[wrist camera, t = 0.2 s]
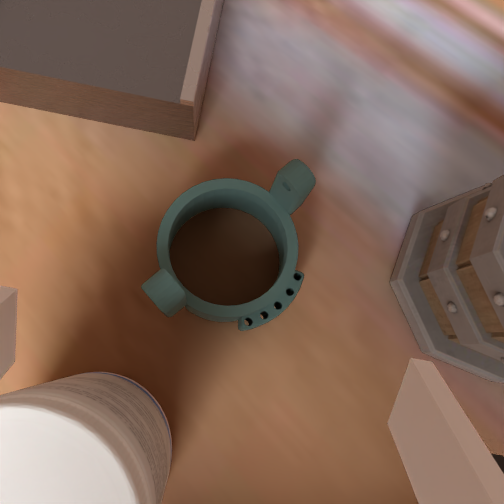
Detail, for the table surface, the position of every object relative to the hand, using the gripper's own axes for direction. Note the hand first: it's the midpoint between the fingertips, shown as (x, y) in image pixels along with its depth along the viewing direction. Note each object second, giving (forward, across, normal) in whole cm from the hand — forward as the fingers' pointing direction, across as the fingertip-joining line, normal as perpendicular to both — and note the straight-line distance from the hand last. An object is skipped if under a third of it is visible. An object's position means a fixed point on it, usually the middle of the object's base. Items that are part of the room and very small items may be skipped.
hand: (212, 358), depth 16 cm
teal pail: (+17, 0, +3) cm, 17 cm away
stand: (+25, +11, -10) cm, 29 cm away
